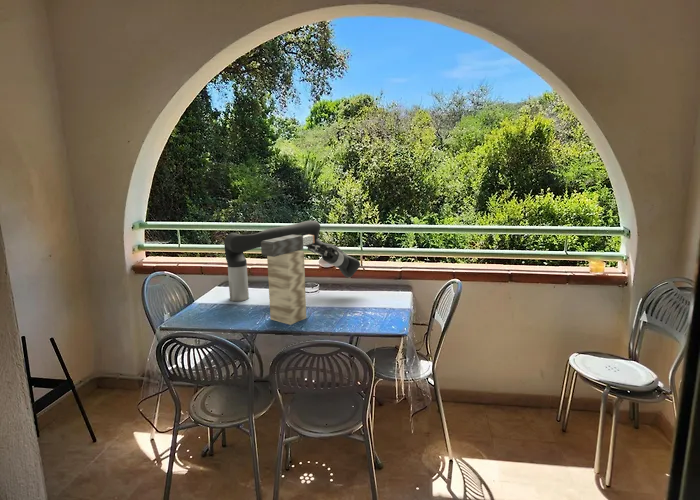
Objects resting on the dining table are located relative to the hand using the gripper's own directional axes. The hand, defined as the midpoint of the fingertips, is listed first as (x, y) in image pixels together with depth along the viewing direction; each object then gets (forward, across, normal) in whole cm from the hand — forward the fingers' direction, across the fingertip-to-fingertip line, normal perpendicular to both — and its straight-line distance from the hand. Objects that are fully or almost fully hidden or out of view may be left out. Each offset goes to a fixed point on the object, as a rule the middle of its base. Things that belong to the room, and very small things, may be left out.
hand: (313, 244), depth 207 cm
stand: (+2, 0, +36) cm, 36 cm away
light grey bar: (+12, 0, +6) cm, 14 cm away
